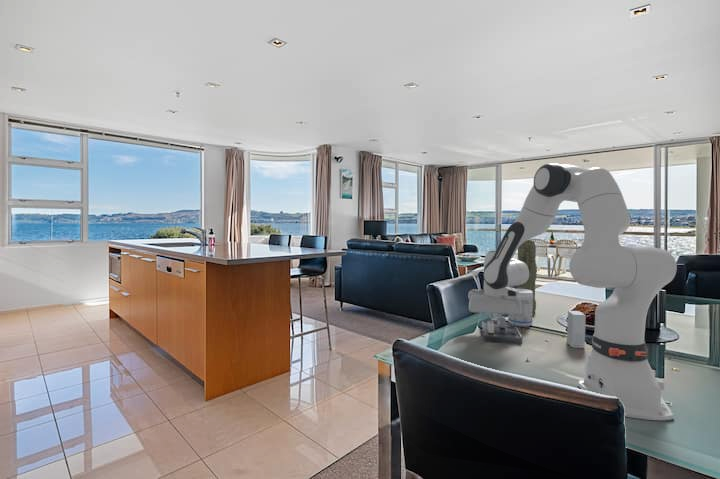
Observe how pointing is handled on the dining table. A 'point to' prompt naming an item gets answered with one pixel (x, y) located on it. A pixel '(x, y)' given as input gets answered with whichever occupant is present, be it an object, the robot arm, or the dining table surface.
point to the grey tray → (502, 334)
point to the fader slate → (502, 322)
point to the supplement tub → (523, 309)
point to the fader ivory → (490, 327)
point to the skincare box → (576, 329)
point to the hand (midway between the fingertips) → (494, 323)
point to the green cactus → (528, 256)
